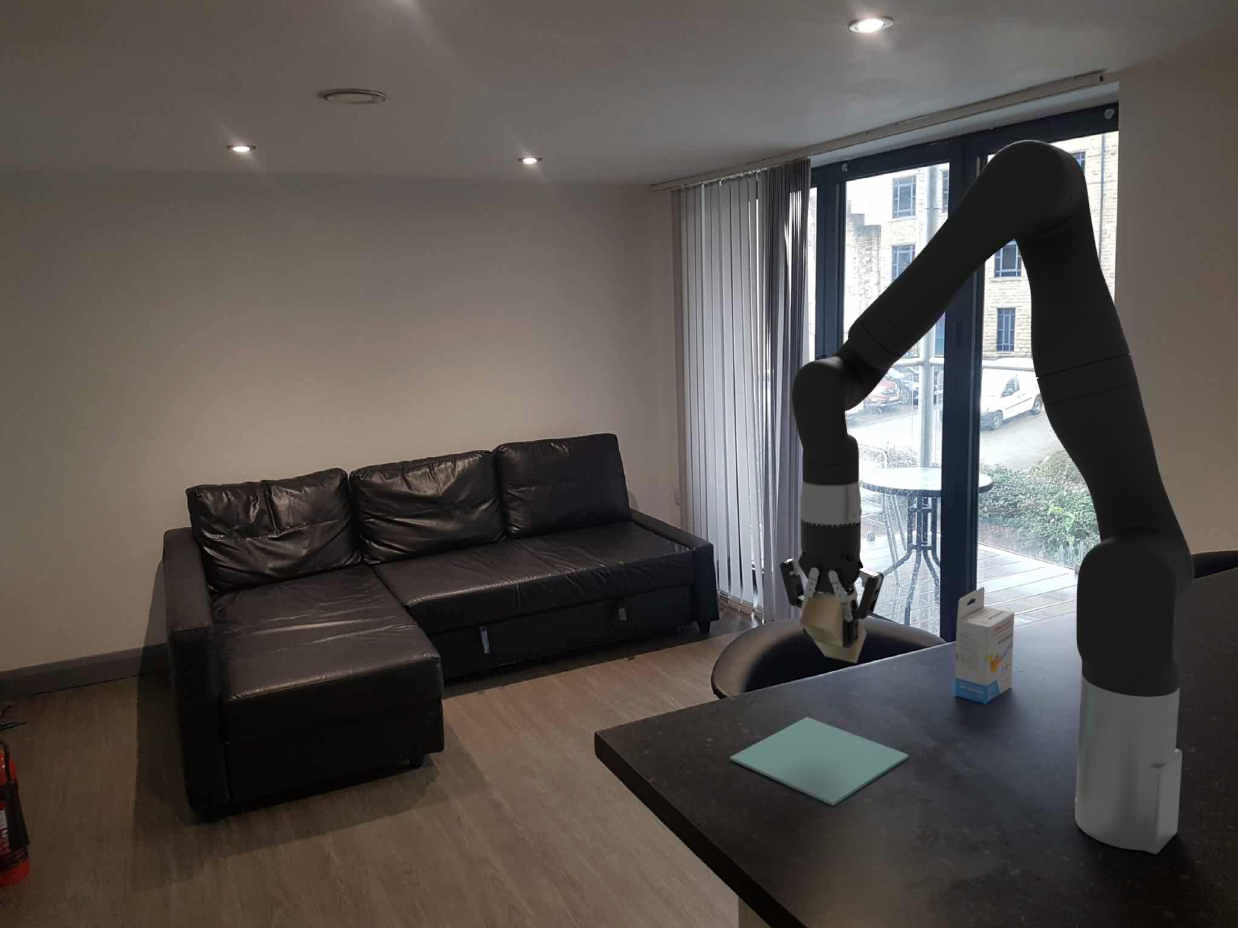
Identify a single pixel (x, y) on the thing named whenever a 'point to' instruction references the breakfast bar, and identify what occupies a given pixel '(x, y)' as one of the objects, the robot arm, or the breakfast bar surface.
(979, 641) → the ink box
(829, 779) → the mat
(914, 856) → the breakfast bar surface
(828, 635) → the block
